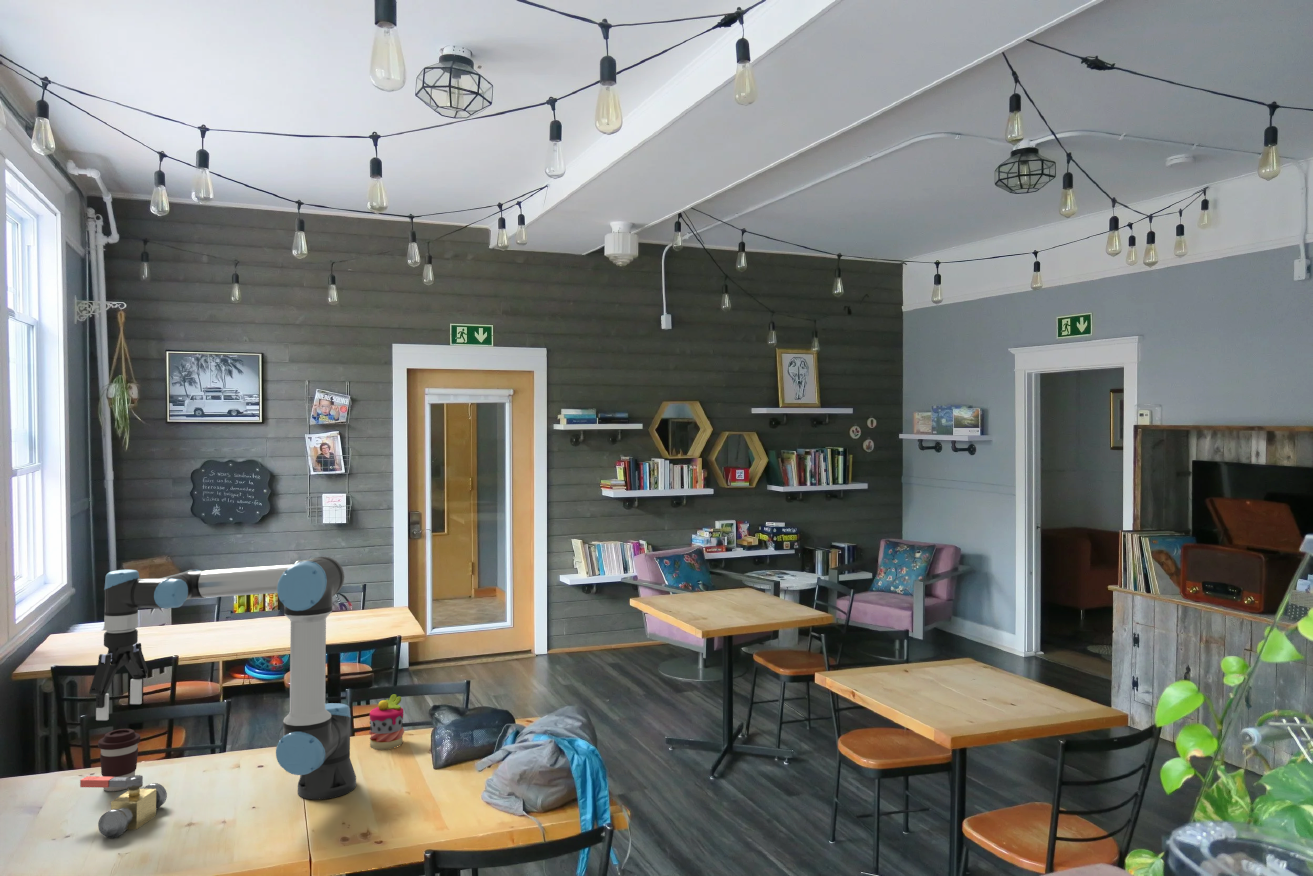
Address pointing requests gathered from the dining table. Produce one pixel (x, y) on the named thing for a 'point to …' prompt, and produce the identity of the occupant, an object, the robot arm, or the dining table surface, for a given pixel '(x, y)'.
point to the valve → (132, 810)
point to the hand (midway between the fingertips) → (119, 711)
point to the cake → (386, 724)
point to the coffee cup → (119, 754)
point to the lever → (112, 782)
